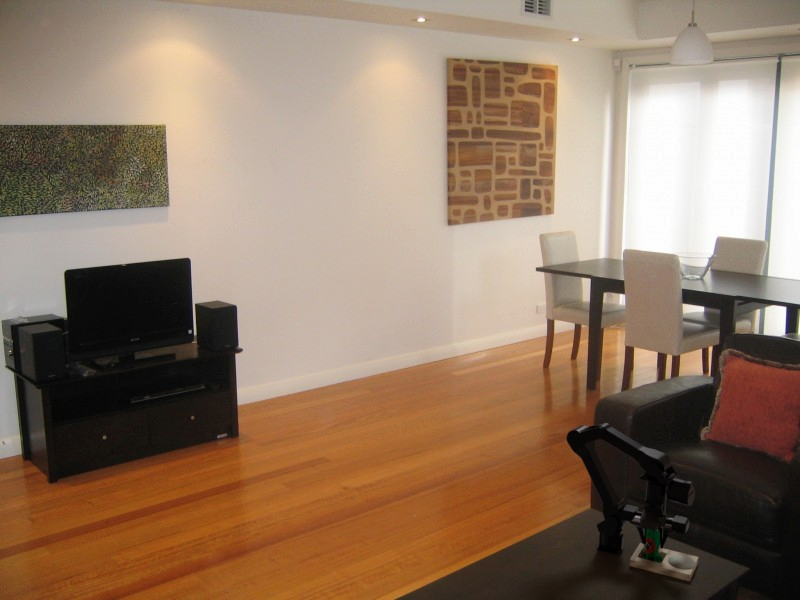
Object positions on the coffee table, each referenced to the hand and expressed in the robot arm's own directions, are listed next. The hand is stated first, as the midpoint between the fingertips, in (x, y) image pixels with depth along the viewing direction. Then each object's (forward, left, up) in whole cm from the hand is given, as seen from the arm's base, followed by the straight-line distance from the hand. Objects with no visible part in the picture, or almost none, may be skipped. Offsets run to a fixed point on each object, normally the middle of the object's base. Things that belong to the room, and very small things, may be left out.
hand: (652, 545), depth 238 cm
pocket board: (+4, 0, -5) cm, 6 cm away
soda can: (0, 0, -5) cm, 5 cm away
